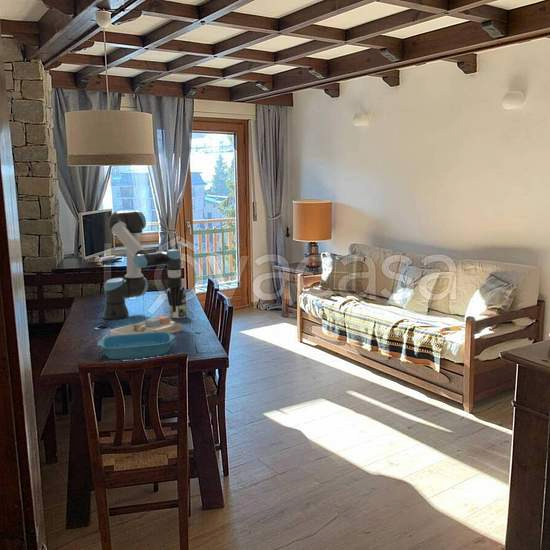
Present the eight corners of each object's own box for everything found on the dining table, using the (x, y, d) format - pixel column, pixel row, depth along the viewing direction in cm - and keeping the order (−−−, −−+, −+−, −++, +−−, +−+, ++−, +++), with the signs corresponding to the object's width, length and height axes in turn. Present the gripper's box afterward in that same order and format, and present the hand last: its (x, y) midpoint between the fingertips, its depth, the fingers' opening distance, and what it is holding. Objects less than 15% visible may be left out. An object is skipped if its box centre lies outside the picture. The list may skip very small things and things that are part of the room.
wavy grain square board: (133, 331, 315) (132, 324, 314) (158, 324, 329) (157, 318, 328) (156, 337, 303) (156, 330, 302) (181, 330, 317) (181, 323, 316)
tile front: (145, 325, 312) (144, 320, 312) (153, 323, 317) (153, 317, 316) (152, 326, 309) (152, 321, 308) (160, 324, 313) (160, 319, 313)
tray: (109, 338, 302) (108, 330, 301) (133, 331, 314) (133, 324, 313) (130, 344, 291) (129, 335, 290) (154, 337, 303) (154, 329, 302)
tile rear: (155, 322, 318) (154, 317, 317) (163, 320, 322) (163, 315, 322) (162, 324, 314) (161, 319, 314) (170, 322, 319) (170, 317, 318)
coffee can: (189, 314, 353) (188, 292, 350) (183, 318, 343) (182, 296, 340) (173, 314, 355) (172, 292, 352) (167, 317, 345) (166, 295, 342)
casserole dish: (97, 363, 262) (96, 348, 261) (99, 349, 283) (98, 335, 282) (177, 356, 271) (176, 342, 270) (173, 343, 292) (173, 330, 291)
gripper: (170, 279, 314) (171, 320, 318) (187, 275, 324) (188, 315, 328) (161, 277, 319) (162, 318, 323) (178, 274, 329) (179, 313, 333)
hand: (175, 316), depth 326 cm, fingers closed
